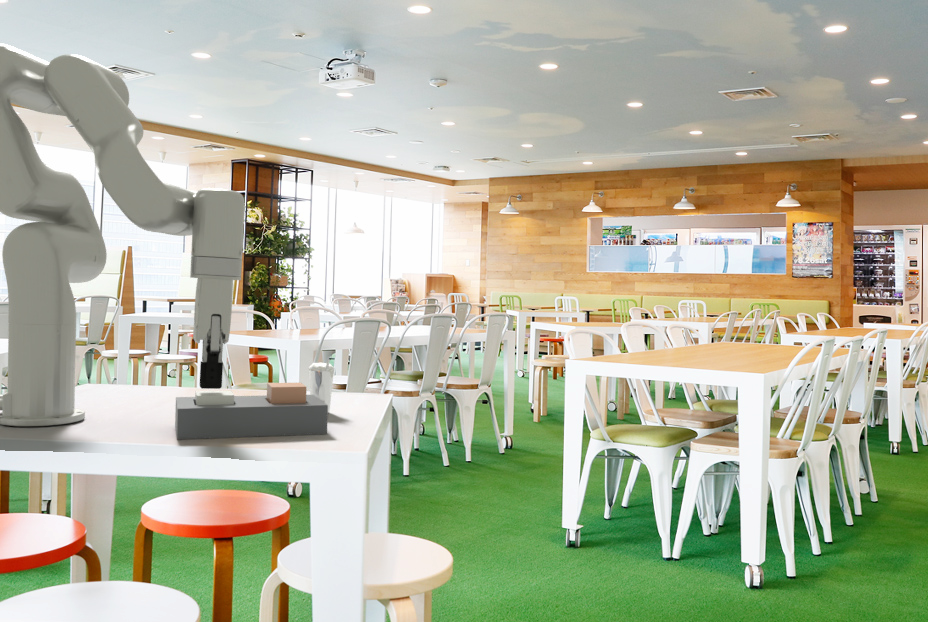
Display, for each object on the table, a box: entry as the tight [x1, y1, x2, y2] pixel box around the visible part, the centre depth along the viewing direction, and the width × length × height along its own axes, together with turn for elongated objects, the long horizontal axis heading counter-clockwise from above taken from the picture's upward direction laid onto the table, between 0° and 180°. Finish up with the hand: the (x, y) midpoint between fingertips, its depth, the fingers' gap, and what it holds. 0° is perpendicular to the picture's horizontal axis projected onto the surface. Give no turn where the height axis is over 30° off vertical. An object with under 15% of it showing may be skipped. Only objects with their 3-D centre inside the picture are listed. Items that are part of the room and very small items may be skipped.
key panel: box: [174, 394, 329, 440], centre depth 125 cm, size 22×12×4 cm, turn 111°
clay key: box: [266, 382, 307, 404], centre depth 127 cm, size 5×5×4 cm
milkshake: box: [308, 358, 335, 414], centre depth 143 cm, size 4×5×10 cm
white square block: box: [194, 390, 235, 405], centre depth 123 cm, size 5×5×4 cm
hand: (210, 387), depth 123 cm, fingers closed
